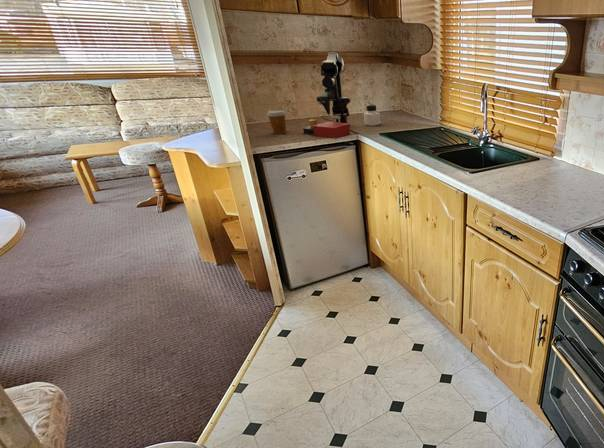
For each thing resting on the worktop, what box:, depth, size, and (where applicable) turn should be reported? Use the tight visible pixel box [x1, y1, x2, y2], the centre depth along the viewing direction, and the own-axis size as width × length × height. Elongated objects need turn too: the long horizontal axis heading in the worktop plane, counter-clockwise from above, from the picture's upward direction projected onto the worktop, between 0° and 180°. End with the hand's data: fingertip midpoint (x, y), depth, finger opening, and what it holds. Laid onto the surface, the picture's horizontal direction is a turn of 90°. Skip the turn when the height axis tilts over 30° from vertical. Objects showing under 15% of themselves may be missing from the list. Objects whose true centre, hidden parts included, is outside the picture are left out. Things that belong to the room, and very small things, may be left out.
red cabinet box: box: [313, 125, 351, 139], centre depth 227 cm, size 13×15×5 cm
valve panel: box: [302, 125, 314, 136], centre depth 232 cm, size 10×9×3 cm
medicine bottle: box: [363, 104, 382, 127], centre depth 253 cm, size 7×7×12 cm
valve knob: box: [308, 118, 319, 128], centre depth 231 cm, size 4×4×4 cm
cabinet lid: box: [313, 115, 351, 129], centre depth 226 cm, size 13×15×5 cm
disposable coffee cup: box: [266, 109, 287, 135], centre depth 228 cm, size 10×10×12 cm
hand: (335, 115), depth 228 cm, fingers open, 9 cm apart
